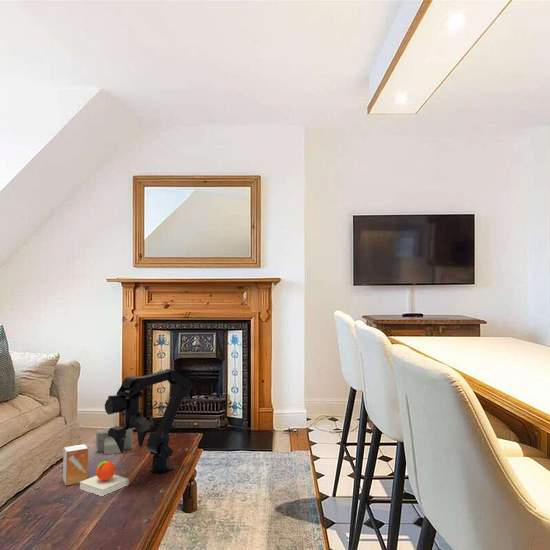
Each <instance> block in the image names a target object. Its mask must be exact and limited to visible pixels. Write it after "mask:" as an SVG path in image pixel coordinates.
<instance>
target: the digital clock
mask: <svg viewBox="0 0 550 550" xmlns="http://www.w3.org/2000/svg"><path fill="white" fill-rule="evenodd" d="M109 429H110V428H107V429H99V430H97V431H96V432H95V433H96V434H95V435H96V440H95V441H96V451H97V452H99V453H100V452H103V455H104V456H106V455H105V454H109V455H116V454H115V453H121V452H120V450H119V448H118V445H117V443H116V442H115V440H114V438H112V437H111V436H108V430H109ZM133 431H134V429H133V430H130V431H127V432H126V435H125V436H127V437H126V438H125V440H124V449H126V450H131V449H132V448H133V445H134V444H133V441H134V440H133V433H134V432H133ZM121 454H122V453H121Z"/></svg>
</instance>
